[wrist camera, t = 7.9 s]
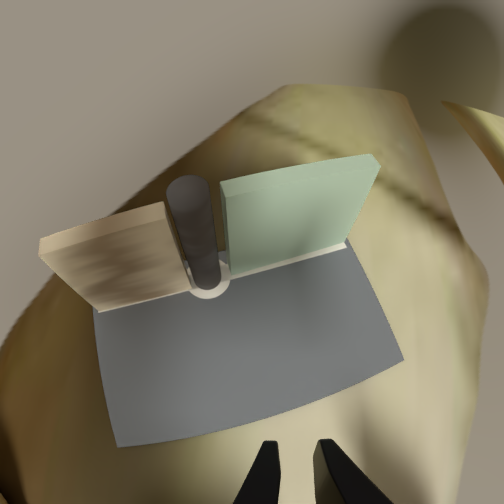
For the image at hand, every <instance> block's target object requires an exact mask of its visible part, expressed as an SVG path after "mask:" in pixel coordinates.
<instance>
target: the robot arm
mask: <svg viewBox="0 0 504 504" xmlns="http://www.w3.org/2000/svg"><path fill="white" fill-rule="evenodd" d="M313 467H314V484H315V499H316V504H394V503H393V502H392V501H391V500H389V499H388V498H387V497H386V496H385V495H384V494H383V492H382V491H381V490H380V489H379V488H378V487H377V486H376V485H375V484H374V483H373V482H372V481H371V480H370V479H369V478H368V477H367V476H366V475H365V474H364V473H363V472H362V471H361V470H360V469H359V468H358V467H357V465H356V464H355V463H354V462H353V461H352V460H351V459H350V458H349V457H348V456H347V455H346V454H345V453H344V451H343V450H342V449H341V448H340V447H339V446H338V445H337V444H336V443H335V441H334V440H332V439H320V440H319V441H318V442H317V445H316V448H315V451H314V455H313ZM280 479H281V468H280V459H279V450H278V443H277V441H264V442H263V444H262V446H261V448H260V450H259V452H258V454H257V456H256V459H255V461H254V463H253V465H252V467H251V469H250V471H249V473H248V475H247V477H246V479H245V481H244V483H243V485H242V487H241V489H240V491H239V493H238V495H237V497H236V498H235V500H234V502H233V504H278V497H279V488H280Z"/></svg>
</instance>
